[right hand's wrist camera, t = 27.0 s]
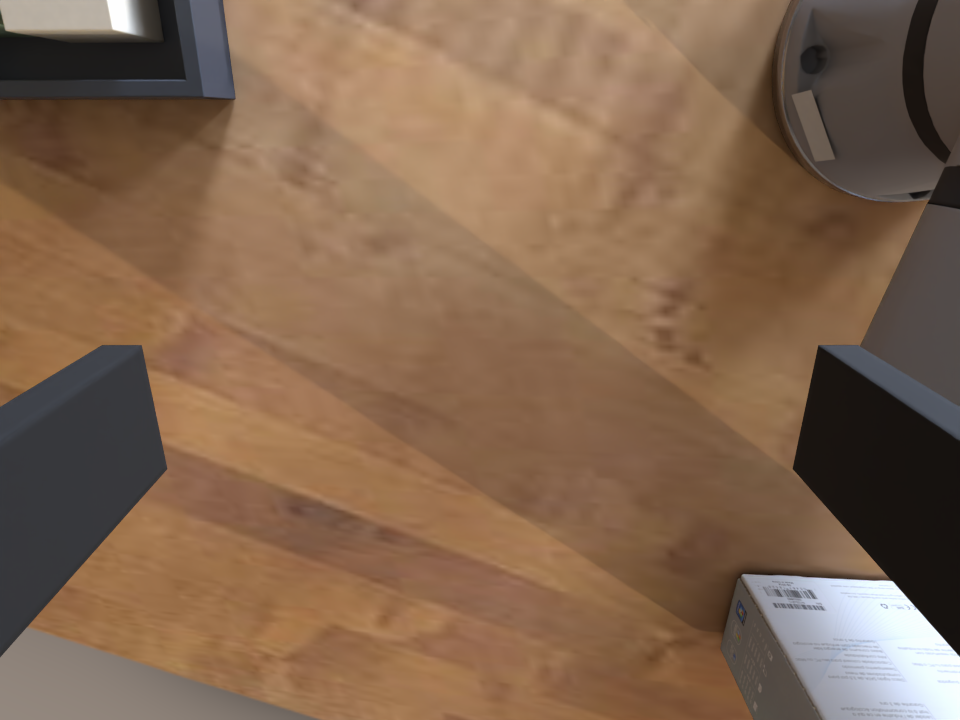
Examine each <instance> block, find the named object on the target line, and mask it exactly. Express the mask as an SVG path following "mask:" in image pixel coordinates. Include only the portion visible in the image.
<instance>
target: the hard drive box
mask: <svg viewBox="0 0 960 720" xmlns="http://www.w3.org/2000/svg"><path fill="white" fill-rule="evenodd" d="M721 651H722V653H723V655H724V657H725V659H726V661H727V663H728V666H729V668H730V670H731V672H732V674H733V676H734V678H735V680H736V682H737V685H738V687H739V689H740V691H741V693H742V695H743V697H744V700H745V702H746V704H747V706H748V708H749V710H750V713H751V715H752V717H753V719H754V720H960V657H959V656H958V655H957V653H956V652H955V651H954V650H953V649H952V648H951V647H950V646H949V644H948V643H947V642H946V641H945V640H944V639H943V638H942V637H941V635H940V634H939V633H938V632H937V631H936V630H935V629H934V627H933V626H932V625H931V624H930V623H929V622H928V621H927V620H926V618H925V617H924V616H923V615H922V614H921V613H920V612H919V611H918V609H917V608H916V607H915V606H914V605H913V604H912V603H911V602H910V600H909V599H908V598H907V597H906V596H905V595H904V594H903V593H902V591H901V590H900V589H899V588H898V587H897V586H896V585H895V584H894V582H893V581H882V580H880V581H869V580H850V579H830V578H813V577H801V576H784V575H772V576H770V575H753V574H743V575H742V576H741V578H738V580H737V584H736V588H735V591H734V596H733V599H732V603H731V607H730V611H729V615H728V619H727V623H726V627H725V631H724V635H723V639H722V643H721Z"/></svg>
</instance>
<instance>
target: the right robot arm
mask: <svg viewBox="0 0 960 720" xmlns="http://www.w3.org/2000/svg"><path fill="white" fill-rule="evenodd" d="M772 93H773V101H774V108H775V113H776V117H777V121H778V124H779V127H780V130H781V132H782V135H783V137H784V139H785V141H786V143H787V145H788V147H789V148H790V150H791V152H792V153H793V155H794V156H795V158H796V159H797V160H798V161H799V163H800V164H801V165H802V166H803V167H804V168H805V169H806V170H807V171H808V172H809V173H810V174H811V175H813V176H814V177H815V178H816V179H818V180H819V181H820V182H822V183H824V184H825V185H827V186H829V187H831V188H833V189H835V190H837V191H840V192H842V193H845V194H848V195H851V196H856V197H860V198H865V199H870V200H875V201H883V202H911V201H922V200H929V202H928V204H927V205H926V207H925V209H924V211H923V213H922V215H921V218H920V220H919V222H918V224H917V226H916V228H915V230H914V232H913V235H912V237H911V239H910V241H909V243H908V245H907V247H906V249H905V252H904V254H903V256H902V258H901V260H900V262H899V264H898V266H897V269H896V271H895V273H894V275H893V277H892V279H891V281H890V284H889V286H888V288H887V290H886V292H885V294H884V296H883V298H882V301H881V303H880V305H879V307H878V309H877V311H876V313H875V315H874V318H873V320H872V322H871V324H870V326H869V328H868V330H867V332H866V335H865V337H864V339H863V341H862V343H861V345H860V346H858V345H818V350H817V355H816V359H815V364H814V369H813V374H812V379H811V383H810V388H809V393H808V398H807V403H806V407H805V412H804V417H803V422H802V427H801V432H800V436H799V441H798V446H797V451H796V456H795V460H794V465H793V470H794V471H795V472H796V473H797V474H798V475H799V477H800V478H801V479H802V480H803V481H804V482H805V483H806V484H807V486H808V487H809V488H810V489H811V490H812V491H813V492H814V493H815V495H816V496H817V497H818V498H819V499H820V500H821V501H822V502H823V504H824V505H825V506H826V507H827V508H828V509H829V510H830V511H831V513H832V514H833V515H834V516H835V517H836V518H837V519H838V520H839V522H840V523H841V524H842V525H843V526H844V527H845V528H846V529H847V531H848V532H849V533H850V534H851V535H852V536H853V537H854V538H855V540H856V541H857V542H858V543H859V544H860V545H861V546H862V547H863V549H864V550H865V551H866V552H867V553H868V554H869V555H870V557H871V558H872V559H873V560H874V561H875V562H876V563H877V564H878V566H879V567H880V568H881V569H882V570H883V571H884V572H885V573H886V575H887V576H888V577H889V578H890V579H891V580H892V581H893V582H894V584H895V585H896V586H897V587H898V588H899V589H900V590H901V591H902V593H903V594H904V595H905V596H906V597H907V598H908V599H909V600H910V602H911V603H912V604H913V605H914V606H915V607H916V608H917V609H918V611H919V612H920V613H921V614H922V615H923V616H924V617H925V618H926V620H927V621H928V622H929V623H930V624H931V625H932V626H933V627H934V629H935V630H936V631H937V632H938V633H939V634H940V635H941V637H942V638H943V639H944V640H945V641H946V642H947V643H948V644H949V646H950V647H951V648H952V649H953V650H954V651H955V652H956V653H957V655H958V656H959V657H960V0H791V2H790V4H789V7H788V9H787V12H786V14H785V16H784V19H783V22H782V25H781V28H780V31H779V35H778V39H777V43H776V47H775V53H774V60H773V71H772ZM166 470H167V465H166V460H165V456H164V451H163V446H162V441H161V436H160V432H159V427H158V422H157V417H156V412H155V407H154V403H153V398H152V393H151V388H150V383H149V379H148V374H147V369H146V364H145V359H144V355H143V350H142V345H102V346H100V347H98V348H97V349H95V350H93V351H92V352H90V353H89V354H87V355H85V356H84V357H82V358H80V359H79V360H77V361H75V362H74V363H72V364H70V365H69V366H67V367H65V368H64V369H62V370H60V371H59V372H57V373H55V374H54V375H52V376H51V377H49V378H47V379H46V380H44V381H42V382H41V383H39V384H37V385H36V386H34V387H32V388H31V389H29V390H27V391H26V392H24V393H22V394H21V395H19V396H18V397H16V398H14V399H13V400H11V401H9V402H8V403H6V404H4V405H3V406H1V407H0V657H1V656H2V655H3V653H4V652H5V651H6V650H7V649H8V648H9V647H10V645H11V644H12V643H13V642H14V641H15V640H16V639H17V638H18V636H19V635H20V634H21V633H22V632H23V631H24V630H25V629H26V627H27V626H28V625H29V624H30V623H31V622H32V621H33V620H34V618H35V617H36V616H37V615H38V614H39V613H40V612H41V611H42V609H43V608H44V607H45V606H46V605H47V604H48V603H49V602H50V600H51V599H52V598H53V597H54V596H55V595H56V594H57V593H58V591H59V590H60V589H61V588H62V587H63V586H64V585H65V584H66V582H67V581H68V580H69V579H70V578H71V577H72V576H73V575H74V573H75V572H76V571H77V570H78V569H79V568H80V567H81V566H82V564H83V563H84V562H85V561H86V560H87V559H88V558H89V557H90V555H91V554H92V553H93V552H94V551H95V550H96V549H97V547H98V546H99V545H100V544H101V543H102V542H103V541H104V540H105V538H106V537H107V536H108V535H109V534H110V533H111V532H112V531H113V529H114V528H115V527H116V526H117V525H118V524H119V523H120V522H121V520H122V519H123V518H124V517H125V516H126V515H127V514H128V513H129V511H130V510H131V509H132V508H133V507H134V506H135V505H136V504H137V502H138V501H139V500H140V499H141V498H142V497H143V496H144V495H145V493H146V492H147V491H148V490H149V489H150V488H151V487H152V486H153V484H154V483H155V482H156V481H157V480H158V479H159V478H160V477H161V475H162V474H163V473H164V472H165V471H166Z"/></svg>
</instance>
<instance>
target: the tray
mask: <svg viewBox="0 0 960 720" xmlns="http://www.w3.org/2000/svg"><path fill="white" fill-rule="evenodd" d="M157 1H158V7H159V13H160V19H161V25H162V31H163V37H164V42H152V43H70V42H64V41H59V40H53V39H48V38H42V37H1V38H0V100H115V99H235V91H234V83H233V76H232V68H231V61H230V53H229V45H228V38H227V30H226V22H225V15H224V7H223V0H157Z"/></svg>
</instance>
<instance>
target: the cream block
mask: <svg viewBox="0 0 960 720" xmlns="http://www.w3.org/2000/svg"><path fill="white" fill-rule="evenodd" d="M0 11H1V15H2V19H3V23H4V27H5V30H6V31H9V32H14V33H20V34H25V35H31V36H37V37H42V38H48V39H53V40H59V41H64V42H70V43H152V42H164V37H163V31H162V25H161V19H160V13H159V7H158V1H157V0H0Z"/></svg>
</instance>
